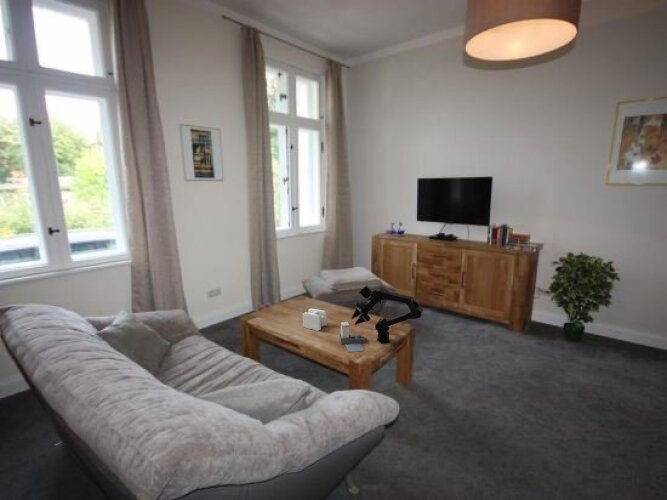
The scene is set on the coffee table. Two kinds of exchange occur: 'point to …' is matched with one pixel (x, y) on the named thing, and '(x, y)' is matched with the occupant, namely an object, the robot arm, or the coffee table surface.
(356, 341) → the power strip
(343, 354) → the coffee table surface
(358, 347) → the rubber pad
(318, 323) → the cable organizer
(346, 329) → the block
